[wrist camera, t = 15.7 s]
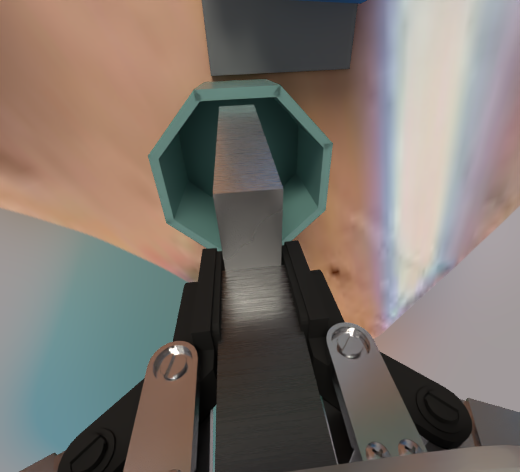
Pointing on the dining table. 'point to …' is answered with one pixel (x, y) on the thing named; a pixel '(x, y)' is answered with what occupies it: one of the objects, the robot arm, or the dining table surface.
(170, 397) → the robot arm
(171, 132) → the utensil pot
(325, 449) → the brushed metal bar
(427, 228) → the dining table surface
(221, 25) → the rubber mat
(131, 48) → the dining table surface
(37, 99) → the dining table surface
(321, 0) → the perfume bottle
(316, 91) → the dining table surface
